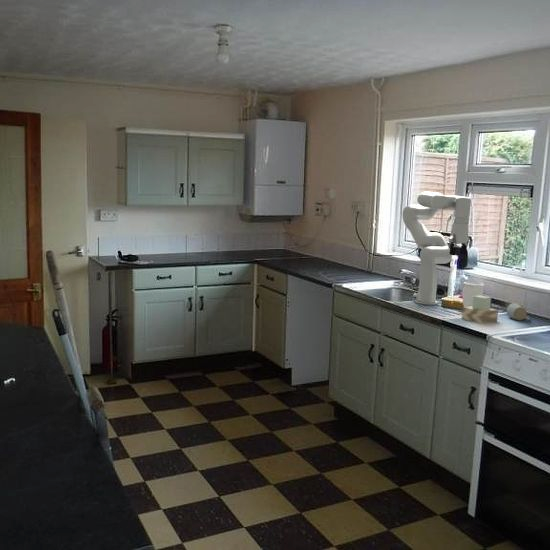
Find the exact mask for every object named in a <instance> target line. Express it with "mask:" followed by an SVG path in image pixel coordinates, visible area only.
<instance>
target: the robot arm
mask: <svg viewBox="0 0 550 550" xmlns="http://www.w3.org/2000/svg"><path fill="white" fill-rule="evenodd" d="M416 200H417V203H418V204H409V205H406V206H405V207H404V208H403V209H402V220H403V224H404V226H405V227H406V228H407V229H408V231H409V232H410V234H411V236H412V238H413V241H414V243H415V244H416V247H417V248H419V249H421V250H420V253H419V260H420V273H419V283H418V292H417V293H416V292H414V293H413V294H412V297H414V298H415V299H414V302H415V303H417V304H420V305H427V306H428V305H429V306H436V305H438V304H439V301H438V300H436V298H437V287H438V278H439V277H438V276H439V271H438V268H437V266H436V264H440V265H441V264H443V265H444V264H448V263H450V262H451V260H452V257H453V256H456V253H457V245H458V244H459V245H460V244H461V246H460V252H459V253H460V254H461V255H467V251H468V245H469V243H470V240H471V238H470V236H469V229H470V228H469V224H470V216H471V215H470V214H471V204H472V199H471V197H468V196H461V195H446V194H445V195H444V194H442V193H441V192H435V191H434V192H433V191H423V192H421V193H420V194H418V195H417V197H416ZM439 210H441V211H454V216H453V223H452V225H451V230H450V235H449V237H448V242H449V243H447V241H446V239H445V237H444V236H443V235H442V234H441V233H440V232H431V231H428V230H427V228H426V226H425V225H424V224H423V223H422V222H421V220H423V221H428V220H432V218H434V217H435V216H436V214H437V213H438V212H439Z"/></svg>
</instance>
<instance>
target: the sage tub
mask: <svg viewBox="0 0 550 550" xmlns="http://www.w3.org/2000/svg"><path fill="white" fill-rule="evenodd" d="M491 302H492V297H491V296H487V295H483V296H482V295H478V296H474V297H473V306H472V308H474V309H479V310H488V309H490V308H491Z"/></svg>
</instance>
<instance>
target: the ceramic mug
mask: <svg viewBox="0 0 550 550" xmlns="http://www.w3.org/2000/svg"><path fill="white" fill-rule="evenodd" d="M506 315H507V316H508V317H509V318H512V319H513V320H516V321H523V320H524V319H525V320H527V321H529V320H530V319H531V317H530V316H528V314H527V309H526V308H525V307H524V306H522V305H520V304H518V303H516V302H514V303H513V302H512V303H510V304H508V305H507V308H506Z"/></svg>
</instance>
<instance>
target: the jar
mask: <svg viewBox="0 0 550 550" xmlns="http://www.w3.org/2000/svg"><path fill="white" fill-rule="evenodd" d="M484 286H485V284H484V283H481V282H477V281H464V282H463V289H462V305H463V307H468V306H473V297H474V296H478V295H482V296H484V288H483V287H484Z"/></svg>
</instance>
